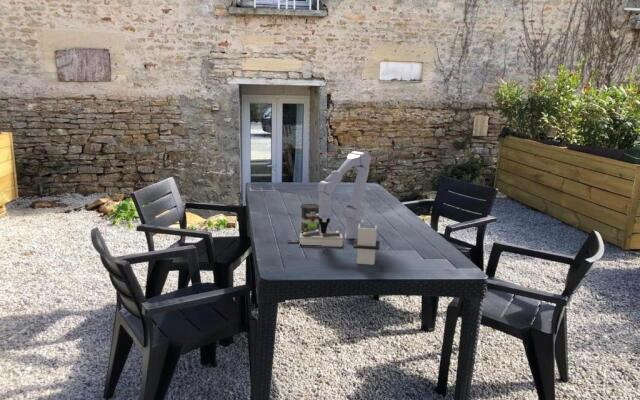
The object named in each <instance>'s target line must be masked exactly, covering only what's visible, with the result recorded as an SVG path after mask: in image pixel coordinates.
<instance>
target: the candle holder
mask: <svg viewBox="0 0 640 400" xmlns="http://www.w3.org/2000/svg"><path fill="white" fill-rule="evenodd" d="M377 226H378V225H376V224H375V228H371V227H370V228H367V227H364V228H360V224H359V226H358V239H354V242H353V249H357V255H356V258H357V259H356V263H357V264H358V265H359V264H360V265H375V261H376V250H377V251H378V250H380V244H381V242H380V240H377Z"/></svg>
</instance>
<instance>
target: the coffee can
mask: <svg viewBox="0 0 640 400" xmlns="http://www.w3.org/2000/svg"><path fill="white" fill-rule="evenodd" d="M300 211H301V212H300V213H301V214H300V232H301V231H303V232H308V231H313V230H317V229H319V231H320V232H321V227H320V223H319V221H318V218H320V217H319V216H316V214H319V204H313V203H305V204H301V205H300Z"/></svg>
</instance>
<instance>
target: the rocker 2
mask: <svg viewBox="0 0 640 400" xmlns="http://www.w3.org/2000/svg"><path fill="white" fill-rule="evenodd" d="M322 234H323V237H335V236H339V234H340V230H329V231H327V230H326V233H322Z"/></svg>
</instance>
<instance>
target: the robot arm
mask: <svg viewBox="0 0 640 400" xmlns="http://www.w3.org/2000/svg"><path fill="white" fill-rule="evenodd" d="M371 161H372V157H371V156H370V154H369V153H368V152H362V151H356V150H353V151H351V152H350V153H349V154H348V155H347V158H346V159H345V161H344V162H342V164H341V165H340V166H339V168H338V169H337V170H331V172H330V174H329V175H328V176H327V177H326V178H325V179H324V180H320V181H319V183H318V185H317V186H316V190H317V192H318V197H319V198H318V205H319V214H316V216H319V217H320V218H318V221H319V223H320V234H323V233H326V231H327V229H328V226H329V224H330V222H331V216H332V215H331V203H332V193H333V192H334V190H335V189H336V186H337V185H338V184H339V183H340V182H341V181H342V179H343V175H344V174H346V173H347V172H348V171H349V170H350V169H351V168H353V167H355V169H356V170H357V172H356V177H355V182H354V187H353V190H352V194H351V197H350V200H349V201H348V202H346V204H345V206H344V208H343V210H342V215H343V217H345V218H344V219H345V233H344V239H349V240H350V239H352V240H353V239H354V240H355V239H358V226H359V224H360V228H365V221H364V219H363V218H364V210H365V207H364V205H363V203H362V201H363V197H364V192H365V188H366V185H367V180H368V176H369V172H370V165H371Z"/></svg>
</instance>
